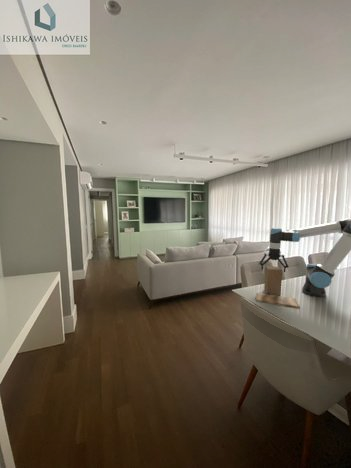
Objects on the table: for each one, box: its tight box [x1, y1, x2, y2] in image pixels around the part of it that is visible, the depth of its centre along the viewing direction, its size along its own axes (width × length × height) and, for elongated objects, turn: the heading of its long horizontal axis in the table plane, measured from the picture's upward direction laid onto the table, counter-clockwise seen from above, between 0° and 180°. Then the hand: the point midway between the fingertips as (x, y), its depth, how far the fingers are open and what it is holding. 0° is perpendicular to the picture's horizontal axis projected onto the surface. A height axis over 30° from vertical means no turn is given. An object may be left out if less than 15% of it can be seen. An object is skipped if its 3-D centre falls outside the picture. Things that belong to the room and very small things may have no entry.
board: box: [256, 292, 301, 309], centre depth 138 cm, size 26×13×1 cm, turn 68°
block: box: [263, 265, 283, 296], centre depth 152 cm, size 10×10×20 cm
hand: (272, 274), depth 151 cm, fingers open, 13 cm apart
